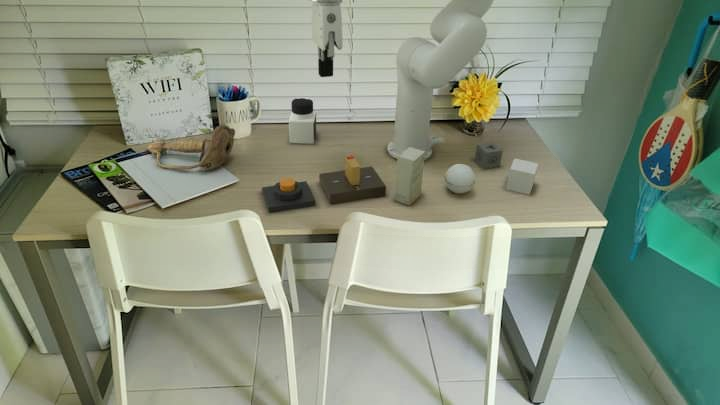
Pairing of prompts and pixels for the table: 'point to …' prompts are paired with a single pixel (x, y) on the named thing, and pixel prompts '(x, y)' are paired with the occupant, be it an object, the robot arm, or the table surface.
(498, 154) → the dice cube
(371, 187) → the plate
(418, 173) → the cosmetic box
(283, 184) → the bell button
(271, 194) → the black knob base
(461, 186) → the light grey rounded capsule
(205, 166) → the sword hilt
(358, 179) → the lock turn
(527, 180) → the light grey cube
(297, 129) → the medicine bottle
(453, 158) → the table surface
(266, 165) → the table surface
